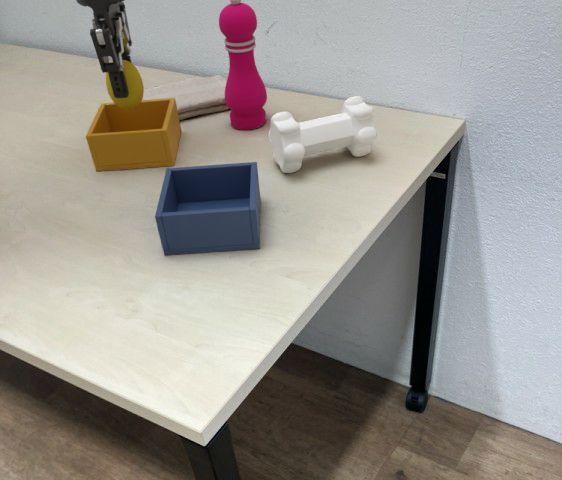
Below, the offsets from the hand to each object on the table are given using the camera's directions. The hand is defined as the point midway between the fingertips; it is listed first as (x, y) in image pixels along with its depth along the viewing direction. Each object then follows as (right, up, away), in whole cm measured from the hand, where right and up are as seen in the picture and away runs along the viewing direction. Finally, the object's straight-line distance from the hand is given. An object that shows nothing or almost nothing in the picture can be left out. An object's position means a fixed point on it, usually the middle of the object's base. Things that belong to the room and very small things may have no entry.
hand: (125, 88), depth 95 cm
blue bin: (+15, -24, -11) cm, 30 cm away
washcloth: (+7, +5, +19) cm, 21 cm away
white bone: (+31, -11, +1) cm, 33 cm away
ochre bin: (+1, -7, +7) cm, 10 cm away
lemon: (0, -3, +3) cm, 4 cm away
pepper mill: (+19, 0, +12) cm, 22 cm away
